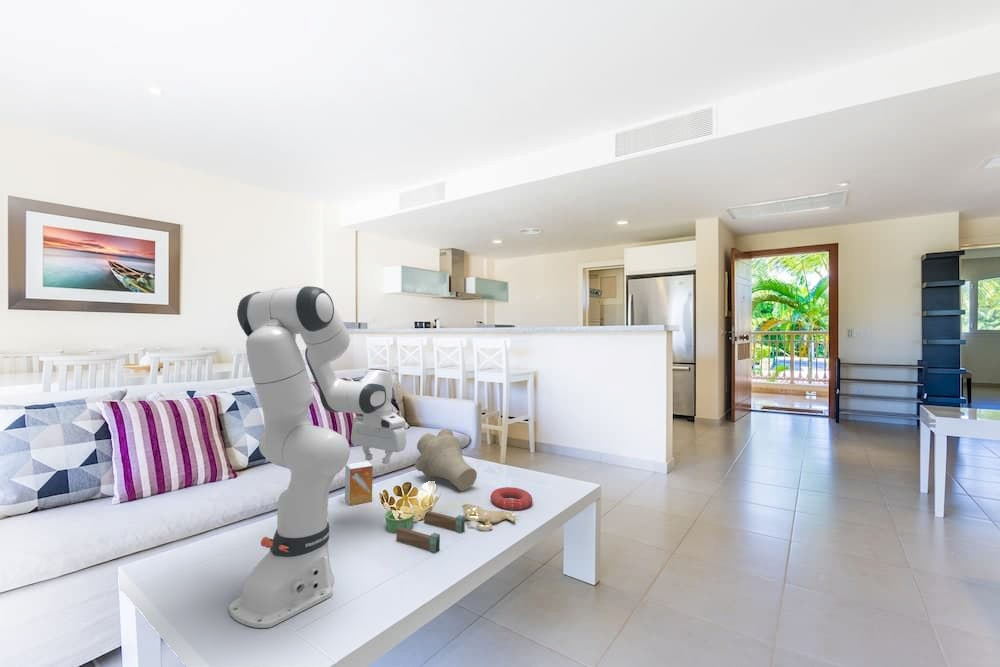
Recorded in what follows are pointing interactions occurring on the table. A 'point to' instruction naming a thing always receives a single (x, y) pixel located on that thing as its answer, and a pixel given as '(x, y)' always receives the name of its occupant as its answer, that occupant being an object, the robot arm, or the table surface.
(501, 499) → the torus
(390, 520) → the ramekin
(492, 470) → the table surface
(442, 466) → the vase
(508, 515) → the unicorn
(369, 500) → the small box
